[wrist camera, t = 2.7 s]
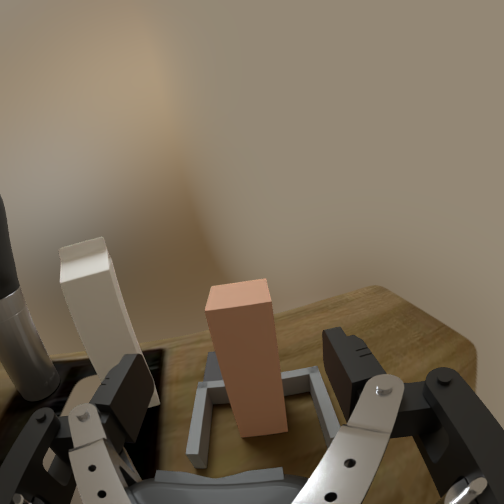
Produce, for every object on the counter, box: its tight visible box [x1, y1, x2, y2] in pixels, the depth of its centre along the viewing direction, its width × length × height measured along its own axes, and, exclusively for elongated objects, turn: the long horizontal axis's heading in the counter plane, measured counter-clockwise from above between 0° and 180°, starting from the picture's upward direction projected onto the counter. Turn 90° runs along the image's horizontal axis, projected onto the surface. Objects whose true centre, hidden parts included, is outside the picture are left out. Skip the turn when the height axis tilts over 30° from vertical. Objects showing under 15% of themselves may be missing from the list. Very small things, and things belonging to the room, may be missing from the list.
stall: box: [186, 366, 340, 468], centre depth 25 cm, size 14×11×3 cm
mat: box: [203, 352, 223, 382], centre depth 36 cm, size 9×9×1 cm
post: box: [205, 278, 288, 438], centre depth 24 cm, size 5×5×16 cm
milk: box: [58, 237, 160, 408], centre depth 28 cm, size 6×6×22 cm
